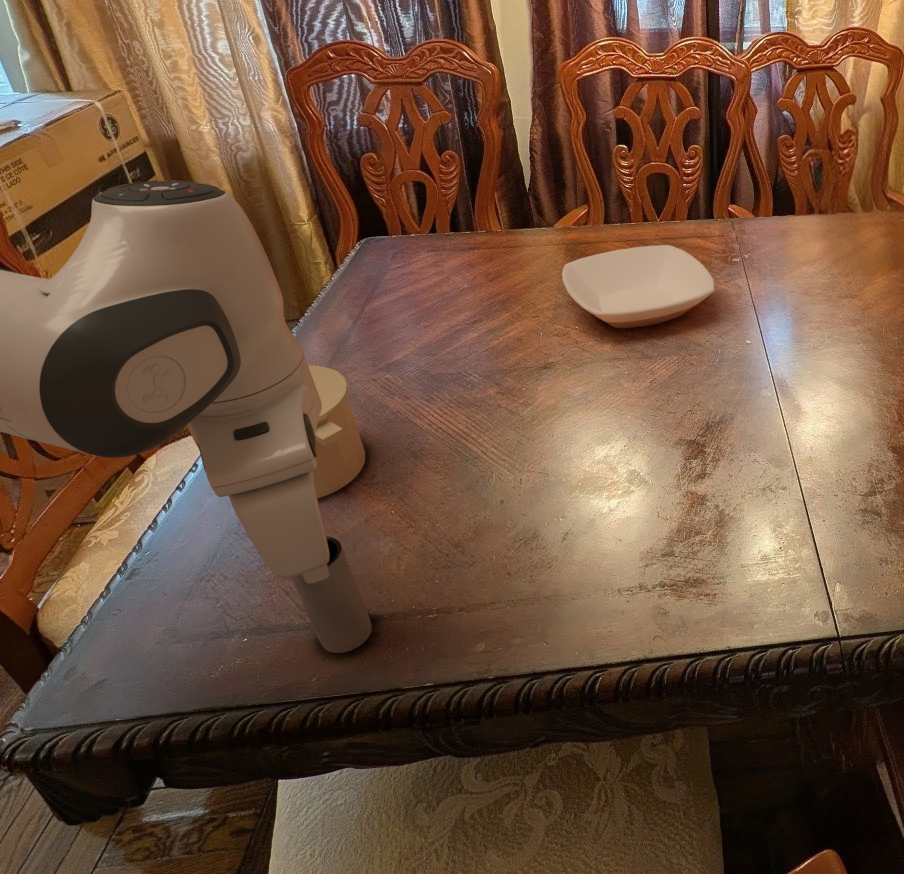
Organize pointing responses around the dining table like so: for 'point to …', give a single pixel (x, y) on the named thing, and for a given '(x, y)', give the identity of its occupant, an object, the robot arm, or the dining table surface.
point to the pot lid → (329, 388)
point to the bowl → (638, 284)
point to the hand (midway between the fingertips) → (311, 538)
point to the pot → (337, 451)
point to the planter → (335, 604)
